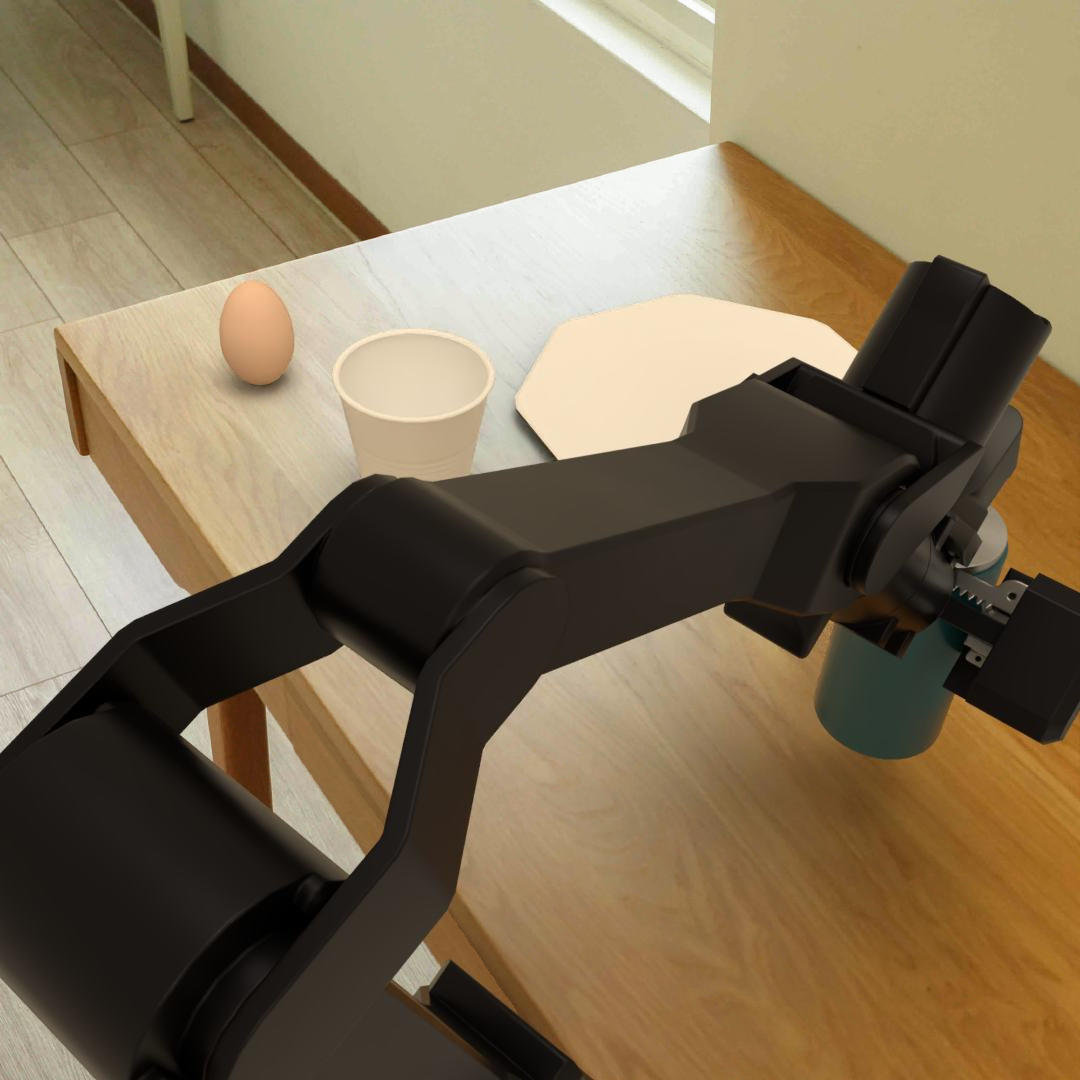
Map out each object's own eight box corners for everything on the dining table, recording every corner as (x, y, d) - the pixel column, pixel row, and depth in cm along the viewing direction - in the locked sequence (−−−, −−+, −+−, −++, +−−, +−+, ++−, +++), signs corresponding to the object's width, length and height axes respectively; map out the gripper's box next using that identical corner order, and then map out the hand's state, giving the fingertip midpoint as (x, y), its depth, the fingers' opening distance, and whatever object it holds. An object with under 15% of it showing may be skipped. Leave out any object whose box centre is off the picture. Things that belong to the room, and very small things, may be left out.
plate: (983, 477, 95) (989, 460, 94) (648, 588, 85) (650, 571, 84) (763, 287, 113) (766, 271, 112) (463, 359, 103) (464, 343, 102)
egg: (229, 405, 97) (217, 307, 91) (221, 365, 101) (208, 268, 95) (303, 396, 98) (295, 298, 93) (291, 356, 102) (283, 260, 96)
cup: (330, 555, 86) (319, 415, 78) (351, 458, 93) (343, 322, 86) (486, 564, 86) (490, 425, 78) (494, 467, 93) (499, 332, 86)
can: (949, 766, 68) (1025, 577, 59) (818, 753, 68) (874, 563, 59) (931, 670, 73) (998, 483, 64) (809, 659, 73) (859, 470, 64)
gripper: (1196, 471, 48) (1188, 550, 62) (756, 280, 57) (836, 388, 71) (1039, 741, 49) (1067, 759, 63) (626, 512, 57) (731, 573, 71)
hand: (919, 606), depth 67 cm, fingers closed on can, 6 cm apart
